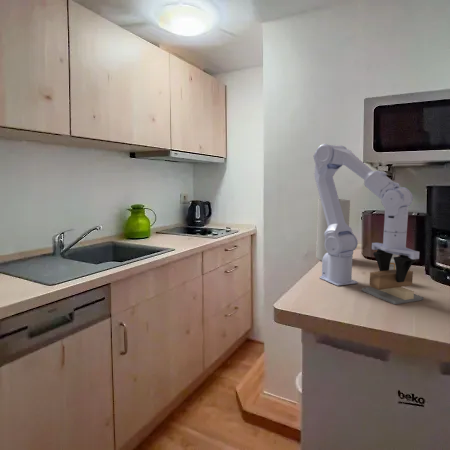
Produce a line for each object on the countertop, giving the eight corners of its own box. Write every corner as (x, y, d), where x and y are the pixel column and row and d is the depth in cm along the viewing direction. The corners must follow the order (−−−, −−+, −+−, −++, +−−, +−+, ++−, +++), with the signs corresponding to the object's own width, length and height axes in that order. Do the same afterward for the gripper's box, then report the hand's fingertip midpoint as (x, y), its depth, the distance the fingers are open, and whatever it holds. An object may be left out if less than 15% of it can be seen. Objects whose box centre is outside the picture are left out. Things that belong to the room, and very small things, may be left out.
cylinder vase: (309, 257, 143) (311, 199, 140) (332, 255, 148) (334, 198, 145) (330, 264, 132) (332, 200, 129) (354, 261, 137) (357, 199, 134)
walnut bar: (369, 286, 94) (370, 272, 94) (401, 281, 99) (402, 268, 98) (378, 289, 91) (379, 275, 91) (412, 285, 95) (413, 271, 95)
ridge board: (361, 290, 99) (362, 281, 99) (387, 287, 103) (388, 278, 102) (394, 304, 88) (395, 294, 88) (422, 299, 91) (423, 289, 91)
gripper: (364, 228, 98) (362, 273, 100) (406, 236, 85) (402, 288, 87) (383, 227, 101) (380, 271, 103) (426, 234, 87) (422, 285, 89)
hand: (392, 279), depth 95 cm, fingers open, 5 cm apart
